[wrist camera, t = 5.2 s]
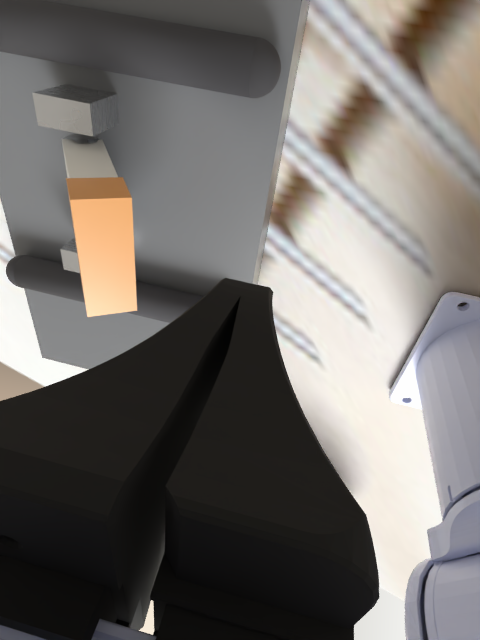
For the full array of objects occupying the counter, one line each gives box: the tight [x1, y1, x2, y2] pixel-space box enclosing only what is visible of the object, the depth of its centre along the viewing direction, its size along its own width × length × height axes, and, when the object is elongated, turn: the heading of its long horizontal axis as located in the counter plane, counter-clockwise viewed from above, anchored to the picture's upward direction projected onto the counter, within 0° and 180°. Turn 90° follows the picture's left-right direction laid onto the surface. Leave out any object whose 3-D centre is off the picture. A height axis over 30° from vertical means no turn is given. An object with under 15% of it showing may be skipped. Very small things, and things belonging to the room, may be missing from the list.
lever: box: [62, 134, 137, 317], centre depth 14 cm, size 2×4×6 cm
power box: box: [0, 0, 310, 369], centre depth 18 cm, size 12×20×5 cm, turn 173°
